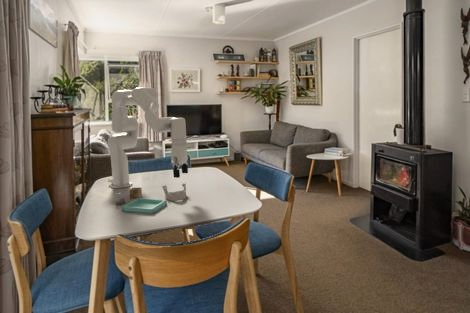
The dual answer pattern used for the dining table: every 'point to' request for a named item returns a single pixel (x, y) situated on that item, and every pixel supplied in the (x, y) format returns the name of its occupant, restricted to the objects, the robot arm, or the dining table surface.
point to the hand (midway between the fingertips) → (180, 175)
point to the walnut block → (135, 193)
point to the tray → (144, 205)
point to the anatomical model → (175, 194)
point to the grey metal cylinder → (120, 198)
